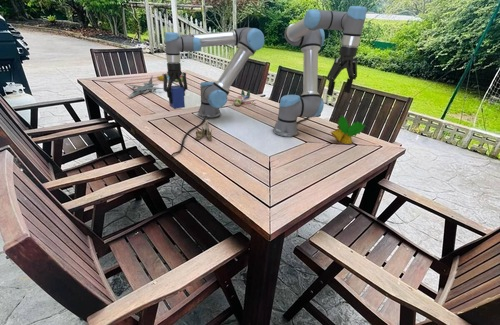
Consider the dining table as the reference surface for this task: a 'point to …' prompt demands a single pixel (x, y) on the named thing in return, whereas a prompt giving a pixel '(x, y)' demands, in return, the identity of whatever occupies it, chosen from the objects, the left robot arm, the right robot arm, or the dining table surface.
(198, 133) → the jawbone
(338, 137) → the ornament
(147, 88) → the airplane
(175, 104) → the brick
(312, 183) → the dining table surface
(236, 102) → the toy
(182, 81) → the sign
